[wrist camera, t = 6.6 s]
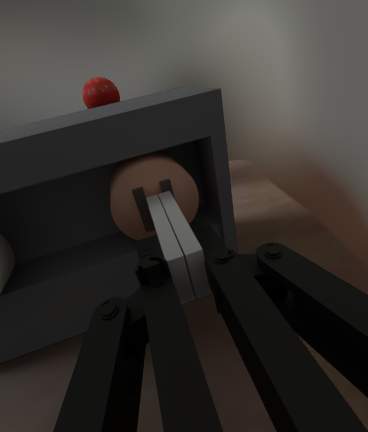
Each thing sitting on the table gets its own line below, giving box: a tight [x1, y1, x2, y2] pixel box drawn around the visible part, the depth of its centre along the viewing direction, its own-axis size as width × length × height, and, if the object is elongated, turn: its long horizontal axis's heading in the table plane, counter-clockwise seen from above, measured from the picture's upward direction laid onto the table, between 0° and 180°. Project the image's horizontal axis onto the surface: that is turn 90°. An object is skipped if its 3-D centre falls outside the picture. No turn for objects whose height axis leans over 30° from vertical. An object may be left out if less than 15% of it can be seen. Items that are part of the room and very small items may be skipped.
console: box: [0, 88, 238, 363], centre depth 21 cm, size 10×24×16 cm, turn 106°
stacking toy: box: [82, 77, 120, 109], centre depth 38 cm, size 8×8×19 cm
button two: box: [110, 150, 199, 241], centre depth 18 cm, size 4×6×6 cm
